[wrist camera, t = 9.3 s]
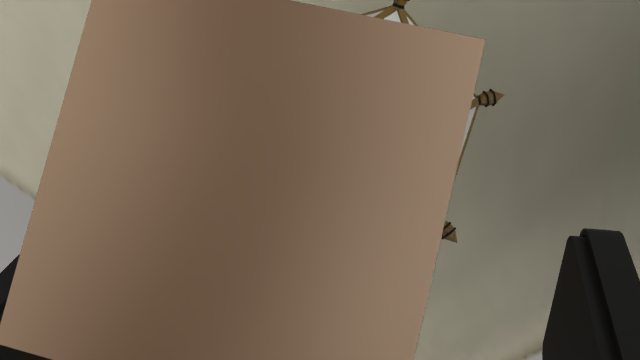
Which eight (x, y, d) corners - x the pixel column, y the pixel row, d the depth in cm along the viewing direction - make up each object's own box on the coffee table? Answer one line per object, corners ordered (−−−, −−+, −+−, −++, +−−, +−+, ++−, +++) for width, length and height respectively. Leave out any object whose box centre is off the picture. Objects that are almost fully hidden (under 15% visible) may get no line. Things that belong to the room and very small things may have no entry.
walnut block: (421, 145, 14) (485, 39, 7) (378, 331, 14) (392, 458, 6) (242, 105, 15) (102, -37, 7) (196, 283, 15) (-6, 343, 7)
